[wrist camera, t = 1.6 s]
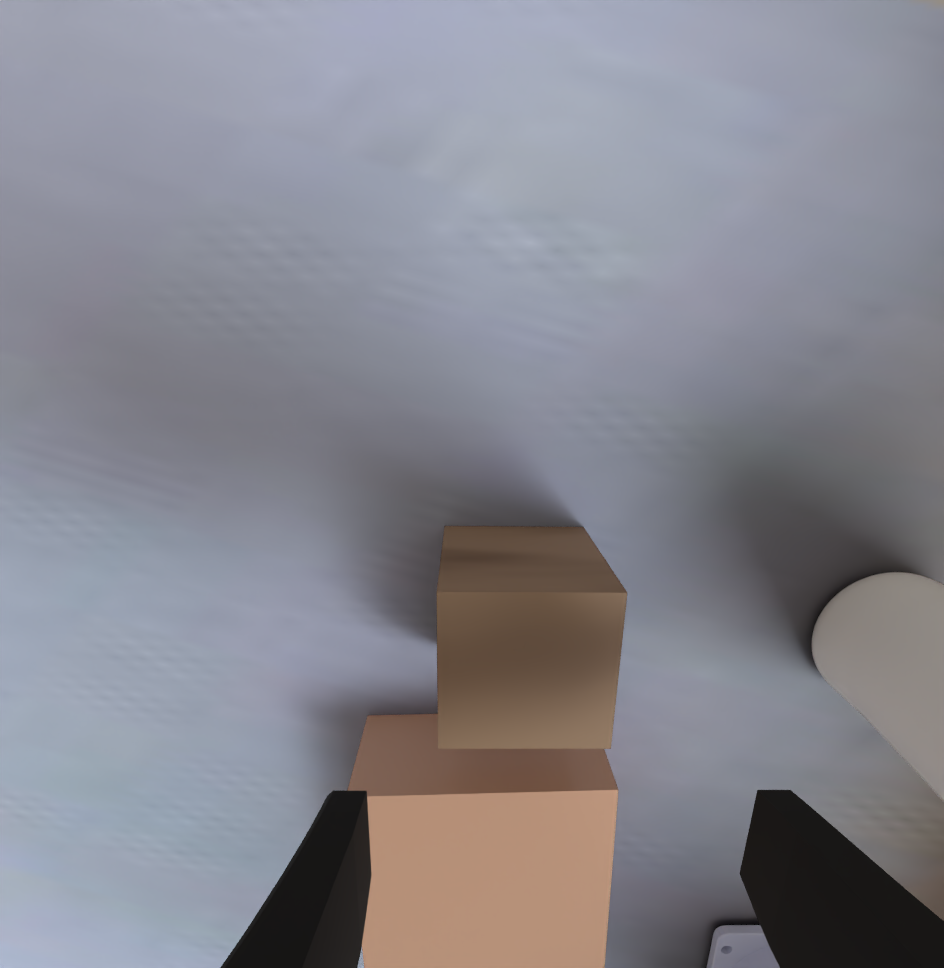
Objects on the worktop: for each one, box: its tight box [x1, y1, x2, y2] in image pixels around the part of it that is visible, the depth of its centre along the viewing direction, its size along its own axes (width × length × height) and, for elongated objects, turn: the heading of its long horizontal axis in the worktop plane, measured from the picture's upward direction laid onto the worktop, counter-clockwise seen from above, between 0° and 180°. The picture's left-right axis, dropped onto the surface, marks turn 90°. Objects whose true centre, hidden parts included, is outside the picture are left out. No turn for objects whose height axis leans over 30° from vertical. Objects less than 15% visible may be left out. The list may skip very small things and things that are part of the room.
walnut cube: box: [437, 526, 627, 749], centre depth 16 cm, size 5×5×5 cm
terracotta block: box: [347, 714, 618, 968], centre depth 19 cm, size 9×9×4 cm
